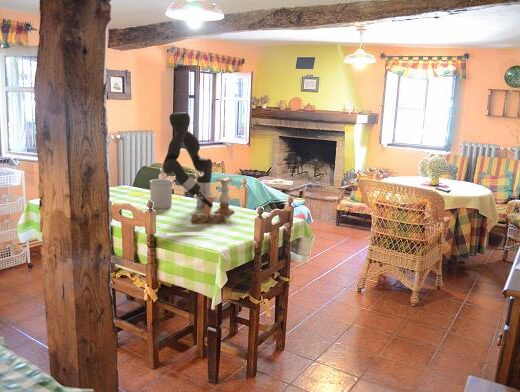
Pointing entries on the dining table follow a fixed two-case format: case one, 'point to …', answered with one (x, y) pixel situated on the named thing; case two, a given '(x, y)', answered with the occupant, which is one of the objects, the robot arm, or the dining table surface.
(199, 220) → the rack
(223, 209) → the candle holder
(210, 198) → the slat
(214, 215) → the offcut block
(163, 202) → the utensil holder
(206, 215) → the offcut block
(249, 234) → the dining table surface
